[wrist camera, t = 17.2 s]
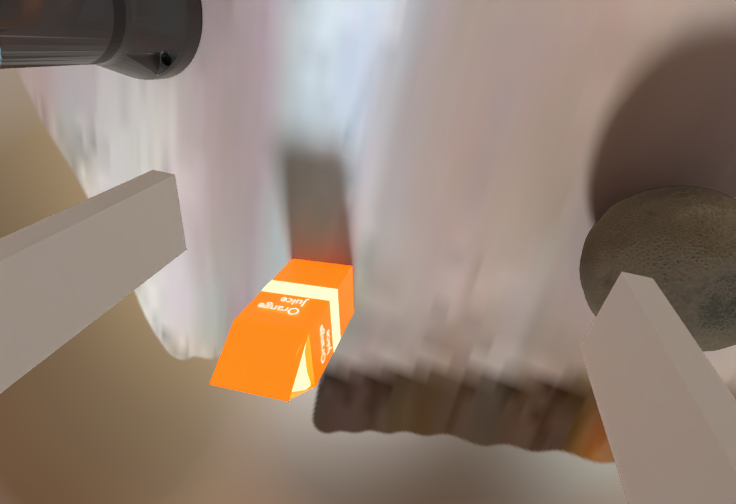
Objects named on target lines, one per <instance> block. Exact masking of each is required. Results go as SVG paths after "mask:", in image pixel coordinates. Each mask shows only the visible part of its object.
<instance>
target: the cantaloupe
mask: <svg viewBox="0 0 736 504" xmlns="http://www.w3.org/2000/svg"><path fill="white" fill-rule="evenodd" d="M621 272H626V273H631V274H635V275H640V276H644V277H649V278H653V279H654V281H655V282H656V284H657V285H658V287H659V288H660V290H661V291H662V292H663V294H664V295H665V297H666V298H667V300H668V301H669V303H670V304H671V306H672V307H673V309H674V310H675V312H676V313H677V314H678V316H679V317H680V319H681V320H682V322H683V323H684V325H685V326H686V328H687V329H688V331H689V332H690V334H691V335H692V337H693V338H694V339H695V341H696V342H697V344H698V345H699V347H700V348H701V350H702V351H715V350H719V349H723V348H726V347H730V346H733V345H736V200H735V199H733V198H731V197H729V196H727V195H725V194H722V193H720V192H717V191H714V190H709V189H705V188H700V187H692V186H669V187H661V188H656V189H652V190H648V191H644V192H641V193H638V194H636V195H633V196H631V197H628V198H625V199H623V200H621V201H619V202H617V203H615V204H614V205H613V206H611V207H610V208H609V209H608V210H607V211H606V212H605V213H604V215H603V216H602V217H601V218H600V219H599V220H598V221H597V222H596V224H595V225H594V226H593V227H592V229H591V230H590V232H589V233H588V235H587V238H586V240H585V243H584V247H583V250H582V255H581V260H580V280H581V284H582V288H583V291H584V294H585V298H586V300H587V303H588V305H589V307H590V309H591V311H592V312H593V313H594V315H595V316H597V314H598V312H599V311H600V309H601V307H602V305H603V304H604V302H605V300H606V298H607V297H608V295H609V293H610V291H611V289H612V288H613V286H614V284H615V282H616V281H617V279H618V277H619V275H620V273H621Z"/></svg>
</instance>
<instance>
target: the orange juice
mask: <svg viewBox="0 0 736 504" xmlns="http://www.w3.org/2000/svg"><path fill="white" fill-rule="evenodd" d="M353 313H354V296H353V272H352V266H351V265H342V264H334V263H325V262H317V261H308V260H300V259H292V260H291V261H290V262H289V263H288V264H287V265H286V266H285V267H284V268H283V269H282V270H281V271H280V272H279V273H278V274H277V275H276V276H275V278H274V279H273V280H271V281H270V282H269V283H268V284H267V285H266V286H265V287H264V288H263V289H262V290H261V292H260V293H259V294H258V295H257V296H256V297H255V298H254V300H253V301H252V302H251V303H250V304H249V305H248V306H247V307H246V308H245V309H244V310H243V311H242V312H241V313H240V314H239V315H238V316H237V317H236V318H235V319H234V322H233V324H232V327H231V329H230V332H229V335H228V337H227V340H226V342H225V345H224V348H223V350H222V353H221V355H220V358H219V361H218V364H217V366H216V369H215V371H214V374H213V376H212V379H211V382H210V385H214V386H219V387H223V388H228V389H233V390H238V391H242V392H246V393H251V394H256V395H260V396H265V397H270V398H274V399H279V400H283V401H288V402H289V400H290V399H292V398H294V397H296V396H298V395H300V394H302V393H303V392H305V391H307V390H309V389H311V388H315V387H316V385H317V383H318V381H319V379H320V377H321V375H322V373H323V371H324V369H325V367H326V365H327V363H328V361H329V360H330V358H331V356H332V354H333V352H334V351H335V349H336V347H337V345H338V343H339V341H340V339H341V336H342V334H343V332H344V331H345V329H346V327H347V325H348V323H349V321H350V319H351V317H352V315H353Z"/></svg>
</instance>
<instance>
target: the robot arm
mask: <svg viewBox="0 0 736 504" xmlns="http://www.w3.org/2000/svg"><path fill="white" fill-rule="evenodd" d="M201 29H202V14H201V4H200V0H0V69H4V68H25V67H47V66H68V65H88V64H95V65H98V66H101V67H104V68H107V69H110V70H113V71H116V72H118V73H121V74H124V75H127V76H130V77H133V78H137V79H144V80H153V79H165V78H170V77H173V76H175V75H177V74H179V73H180V72H182V71H183V70H184V69H185V68H186V67H187V66H188V65H189V63H190V62H191V61H192V59H193V57H194V55H195V53H196V51H197V48H198V45H199V41H200V36H201ZM185 250H187V249H186V243H185V236H184V230H183V224H182V217H181V211H180V204H179V198H178V192H177V185H176V179H175V175H174V174H170V173H165V172H160V171H156V170H152V171H150V172H147V173H145V174H143V175H141V176H138V177H136V178H134V179H132V180H130V181H127V182H125V183H123V184H121V185H118V186H116V187H114V188H112V189H109V190H107V191H105V192H103V193H101V194H98V195H96V196H94V197H92V198H89V199H87V200H85V201H83V202H81V203H78V204H76V205H74V206H72V207H70V208H67V209H65V210H63V211H61V212H58V213H56V214H54V215H52V216H50V217H47V218H45V219H43V220H41V221H38V222H36V223H34V224H32V225H29V226H27V227H25V228H23V229H20V230H18V231H16V232H14V233H12V234H10V235H7V236H5V237H3V238H0V393H1V392H3V391H4V390H5V389H7V388H8V387H9V386H10V385H12V384H13V383H14V382H16V381H17V380H18V379H20V378H21V377H22V376H23V375H25V374H26V373H27V372H29V371H30V370H31V369H33V368H34V367H35V366H36V365H38V364H39V363H40V362H41V361H43V360H44V359H45V358H47V357H48V356H49V355H51V354H52V353H53V352H55V351H56V350H57V349H58V348H60V347H61V346H62V345H63V344H65V343H66V342H67V341H69V340H70V339H71V338H73V337H74V336H75V335H77V334H78V333H79V332H80V331H82V330H83V329H84V328H85V327H87V326H88V325H89V324H90V323H92V322H93V321H95V320H96V319H97V318H99V317H100V316H101V315H102V314H104V313H105V312H106V311H107V310H109V309H110V308H111V307H113V306H114V305H115V304H117V303H118V302H119V301H120V300H122V299H123V298H124V297H126V296H127V295H128V294H130V293H131V292H132V291H133V290H135V289H136V288H137V287H139V286H140V285H141V284H143V283H144V282H145V281H146V280H148V279H149V278H150V277H152V276H153V275H154V274H155V273H157V272H158V271H159V270H161V269H162V268H163V267H165V266H166V265H167V264H168V263H170V262H171V261H172V260H174V259H175V258H176V257H177V256H179V255H180V254H181V253H183V252H184V251H185ZM579 347H580V350H581V354H582V357H583V360H584V363H585V367H586V370H587V373H588V376H589V380H590V383H591V386H592V389H593V392H594V396H595V399H596V402H597V405H598V409H599V412H600V415H601V418H602V422H603V425H604V428H605V431H606V434H607V438H608V441H609V444H610V447H611V451H612V454H613V457H614V460H615V464H616V467H617V470H618V473H619V476H620V479H621V483H622V486H623V489H624V493H625V496H626V499H627V502H628V504H736V400H735V398H734V397H733V395H732V394H731V392H730V391H729V389H728V388H727V386H726V385H725V384H724V382H723V381H722V379H721V378H720V376H719V375H718V373H717V372H716V370H715V369H714V367H713V366H712V364H711V363H710V362H709V360H708V359H707V357H706V356H705V354H704V353H703V351H702V350H701V348H700V347H699V345H698V344H697V342H696V341H695V339H694V338H693V337H692V335H691V334H690V332H689V331H688V329H687V328H686V326H685V325H684V323H683V322H682V320H681V319H680V317H679V316H678V314H677V313H676V312H675V310H674V309H673V307H672V306H671V304H670V303H669V301H668V300H667V298H666V297H665V295H664V294H663V292H662V291H661V290H660V288H659V287H658V285H657V284H656V282H655V281H654V279H653V278H649V277H644V276H640V275H635V274H631V273H626V272H621V273H620V275H619V277H618V279H617V281H616V282H615V284H614V286H613V288H612V289H611V291H610V293H609V295H608V297H607V298H606V300H605V302H604V304H603V305H602V307H601V309H600V311H599V312H598V314H597V316H596V318H595V320H594V321H593V323H592V325H591V327H590V328H589V330H588V332H587V334H586V336H585V337H584V339H583V341H582V343H581V344H580V346H579Z"/></svg>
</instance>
